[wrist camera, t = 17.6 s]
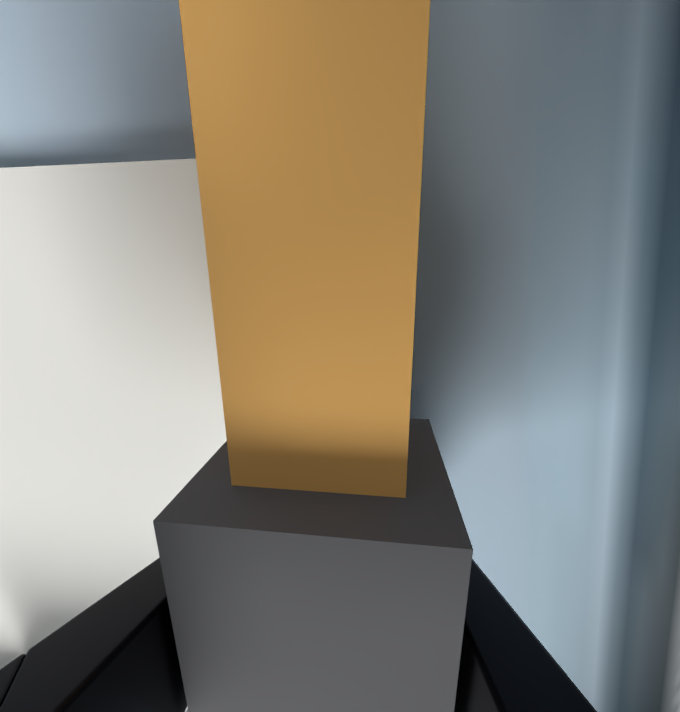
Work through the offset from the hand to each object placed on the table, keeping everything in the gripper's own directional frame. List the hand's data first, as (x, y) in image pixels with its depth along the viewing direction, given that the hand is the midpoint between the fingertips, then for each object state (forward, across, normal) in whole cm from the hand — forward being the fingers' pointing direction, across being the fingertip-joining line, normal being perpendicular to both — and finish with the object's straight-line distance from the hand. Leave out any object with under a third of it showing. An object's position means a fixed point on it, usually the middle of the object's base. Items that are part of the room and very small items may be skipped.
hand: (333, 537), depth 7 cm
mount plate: (+3, +9, +11) cm, 14 cm away
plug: (+1, 0, -4) cm, 4 cm away
